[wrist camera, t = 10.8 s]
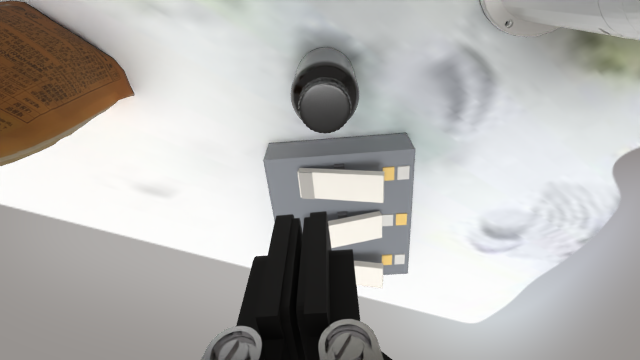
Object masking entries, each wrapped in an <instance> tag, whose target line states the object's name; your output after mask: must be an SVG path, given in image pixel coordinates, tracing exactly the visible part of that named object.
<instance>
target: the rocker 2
mask: <svg viewBox="0 0 640 360" xmlns="http://www.w3.org/2000/svg"><path fill="white" fill-rule="evenodd" d="M328 225H329V233H330V241H331V248H335V247H340V246H345V245H349V244H354V243H359V242H364V241H368V240H373V239H378V238H382V214H381V213H380V211H377V212H372V213H366V214H361V215H356V216H351V217H346V218H341V219H336V220H331V221H328Z"/></svg>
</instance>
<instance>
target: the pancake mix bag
mask: <svg viewBox="0 0 640 360" xmlns="http://www.w3.org/2000/svg"><path fill="white" fill-rule="evenodd" d="M133 95H134V93H133V91H132V89H131V86H130V84H129V82H128V79H127V77H126V74H125V72H124V70H123V69H122V68H121V67H120V65H119V64H118V63H117V62H116V61H115V60H114V59H113V58H112V57H110V56H108V55H107V54H105V53H104V52H102V51H101V50H99V49H97V48H96V47H94V46H93V45H91V44H89V43H88V42H86V41H85V40H83V39H82V38H80V37H78V36H77V35H75V34H74V33H72V32H70V31H69V30H67V29H65V28H64V27H62V26H60V25H59V24H57V23H56V22H54V21H52V20H51V19H49V18H48V17H46V16H45V15H43V14H42V13H40V12H39V11H38V10H36V9H34V8H33V7H31V6H30V5H28V4H27V3H25V2H19V1H5V2H0V166H3V165H6V164H9V163H12V162H15V161H17V160H20V159H22V158H25V157H27V156H30V155H32V154H34V153H37V152H39V151H42V150H44V149H46V148H48V147H50V146H52V145H54V144H55V143H56V142H58V141H59V140H60V139H62V138H64V137H66V136H69V135H71V134H72V133H74V132H75V131H76V130H77V129H79V128H80V127H82V126H83V125H85V124H86V123H88V122H89V121H90V120H91V119H93V118H94V117H96V116H97V115H99V114H101V113H103V112H105V111H106V110H107V109H109V108H110V107H111V106H112V105H114V104H115V103H116V102H117V101H118V100H120V99H123V98H126V97H130V96H133Z"/></svg>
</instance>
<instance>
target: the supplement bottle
mask: <svg viewBox="0 0 640 360" xmlns="http://www.w3.org/2000/svg"><path fill="white" fill-rule="evenodd" d="M358 101H359V88H358V84H357V81H356V77H355V74H354V71H353V68H352V65H351V63H350V61H349V60H348V58H347V57H346V56H345V55H344V54H343V53H341V52H340V51H338V50H336V49H333V48H328V47H322V48H317V49H314V50H312V51H310V52H309V53H308V54H306V55H305V56H304V58H303V59H302V60H301V62H300V63H299V66H298V68H297V71H296V74H295V78H294V81H293V84H292V88H291V102H292V106H293V108H294V110H295V112H296V114H297V115H298V117H299V118H300V119H301V120H302V121H303V123H304V124H306V126H307V127H309V128H310V129H311V130H314V131H315V132H319V133H331V132H335V131H336V130H339V129H340V128H341V127H343V126H344V124H345V123H347V121H348V120H349V119H350V118H351V116H352V115H353V114H354V112H355V110H356V108H357V105H358Z"/></svg>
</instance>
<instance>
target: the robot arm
mask: <svg viewBox="0 0 640 360" xmlns="http://www.w3.org/2000/svg"><path fill="white" fill-rule="evenodd" d="M480 3H481V6H482V8H483V11H484V13H485V15H486V16H487V18H488V19H489V20H490V22H491V23H492V24H493V25H495V26H496V27H497V28H498V29H500V30H502V31H504V32H506V33H508V34H512V35H515V36H523V37H531V36H539V35H543V34H546V33H549V32H552V31H554V30H556V29H558V28H560V27H564V28H569V29H575V30H581V31H587V32H593V33H599V34H604V35H610V36H616V37H622V38H628V39H634V40H640V0H480ZM506 21H507V24H506V25H505V23H506ZM201 360H392V359H391V358H389V357H388V356H387V355H385V354H384V353H383V352H381V350H380V346H379V343H378V340H377V338H376V336H375V334H374V332H373V330H372V329H371V328H370V327H369V326H368V325H366V324H364V323H363V322H361V321H360V315H359V305H358V296H357V286H356V277H355V267H354V258H353V249H346V250H333V251H332V249H331V241H330V233H329V225H328V217H327V212H326V211H324V212H312V213H310V217H304V225H303V232H302V226H301V221H300V218H294V215H293V214H288V215H277V216H276V219H275V224H274V229H273V233H272V238H271V243H270V247H269V252H268V256H256V257H255V258H254V260H253V264H252V268H251V271H250V275H249V279H248V283H247V287H246V291H245V294H244V298H243V302H242V306H241V310H240V314H239V318H238V322H237V326H235V327H232V328H229V329H226V330H224V331H223V332H221V333H220V334H218V335H217V336H216V337H215V338H214V339H213V340H212V341H211V342H210V344H209V345H208V347H207V349H206V351H205V353H204V355H203V357H202V359H201Z"/></svg>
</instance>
